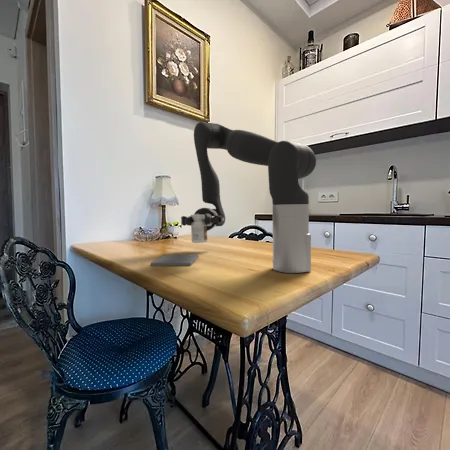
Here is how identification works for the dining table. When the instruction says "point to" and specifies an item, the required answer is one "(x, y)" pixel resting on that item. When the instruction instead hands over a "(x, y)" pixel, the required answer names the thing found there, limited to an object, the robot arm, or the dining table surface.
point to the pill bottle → (198, 229)
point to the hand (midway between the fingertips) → (197, 221)
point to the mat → (175, 260)
